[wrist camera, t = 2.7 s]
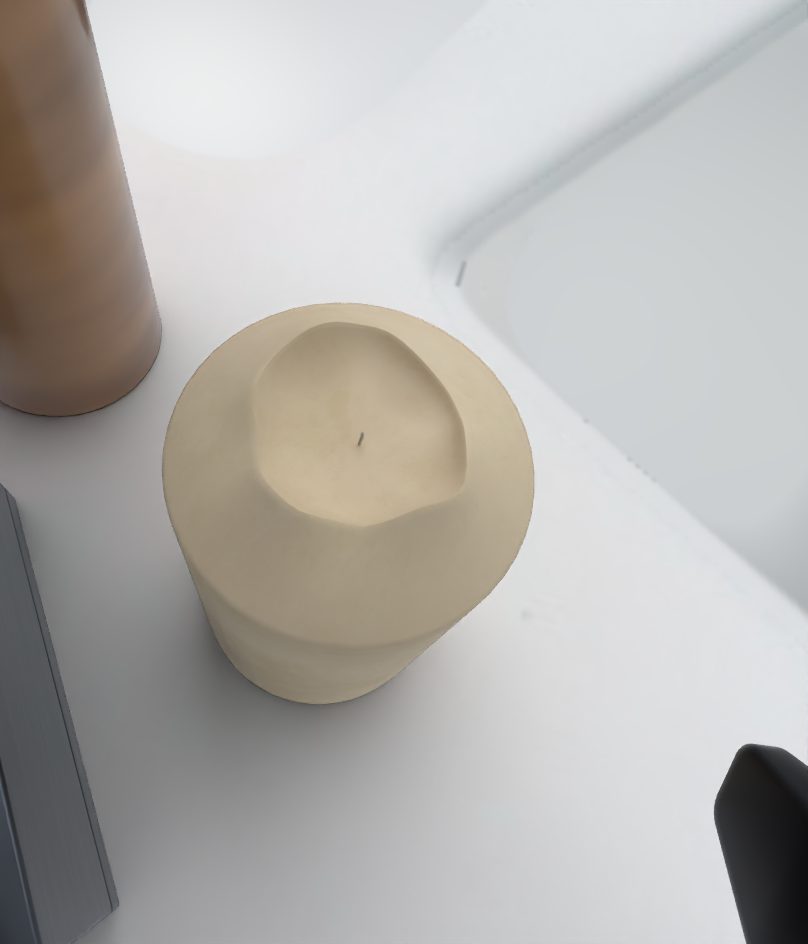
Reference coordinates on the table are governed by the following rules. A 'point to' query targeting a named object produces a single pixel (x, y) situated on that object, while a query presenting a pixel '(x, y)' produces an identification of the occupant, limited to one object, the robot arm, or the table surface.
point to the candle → (343, 494)
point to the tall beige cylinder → (65, 223)
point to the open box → (41, 773)
